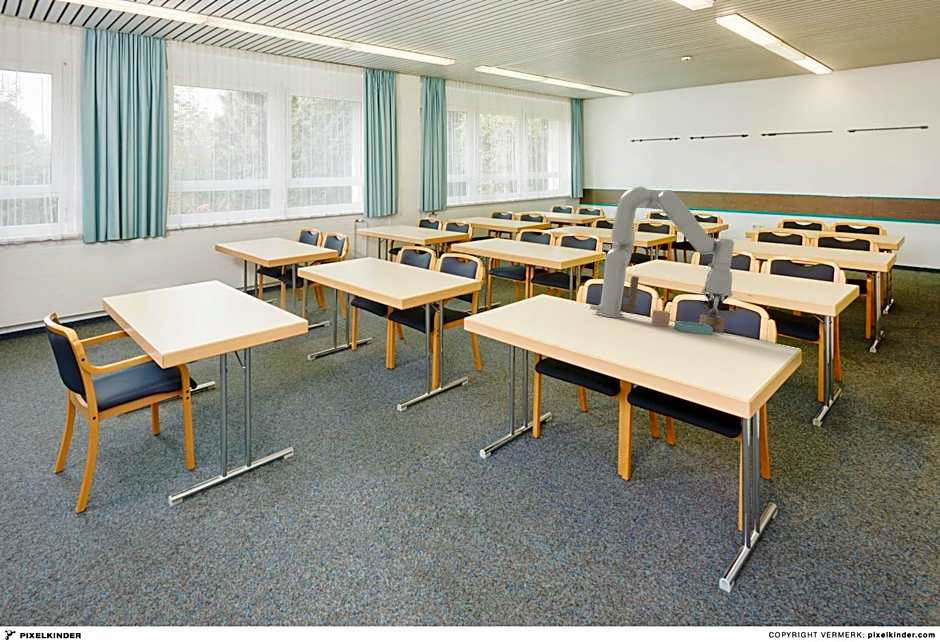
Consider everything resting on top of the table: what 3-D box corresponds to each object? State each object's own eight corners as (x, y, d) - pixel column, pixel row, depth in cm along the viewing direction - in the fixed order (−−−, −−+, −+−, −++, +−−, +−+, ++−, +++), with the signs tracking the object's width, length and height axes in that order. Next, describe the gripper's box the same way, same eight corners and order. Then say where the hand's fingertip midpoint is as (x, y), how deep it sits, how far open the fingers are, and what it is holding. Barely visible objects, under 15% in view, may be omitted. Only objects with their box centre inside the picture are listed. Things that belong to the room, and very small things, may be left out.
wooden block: (615, 309, 297) (620, 274, 294) (635, 312, 291) (640, 276, 287) (612, 309, 294) (617, 274, 291) (632, 313, 288) (637, 277, 285)
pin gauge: (710, 315, 254) (714, 292, 252) (708, 314, 257) (712, 291, 255) (717, 316, 254) (721, 293, 252) (715, 315, 257) (719, 292, 255)
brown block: (704, 330, 253) (706, 317, 252) (698, 327, 261) (700, 314, 260) (722, 332, 252) (725, 319, 251) (716, 329, 260) (719, 316, 259)
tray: (680, 331, 245) (681, 324, 245) (674, 327, 255) (675, 320, 254) (711, 335, 244) (712, 327, 244) (704, 330, 254) (705, 323, 253)
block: (654, 325, 256) (656, 312, 254) (651, 323, 261) (653, 310, 260) (668, 327, 255) (670, 313, 254) (665, 324, 261) (666, 311, 260)
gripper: (704, 266, 249) (697, 309, 252) (743, 269, 247) (736, 312, 251) (698, 265, 256) (692, 306, 259) (737, 268, 255) (730, 310, 258)
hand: (714, 309), depth 255 cm, fingers closed on pin gauge, 3 cm apart
